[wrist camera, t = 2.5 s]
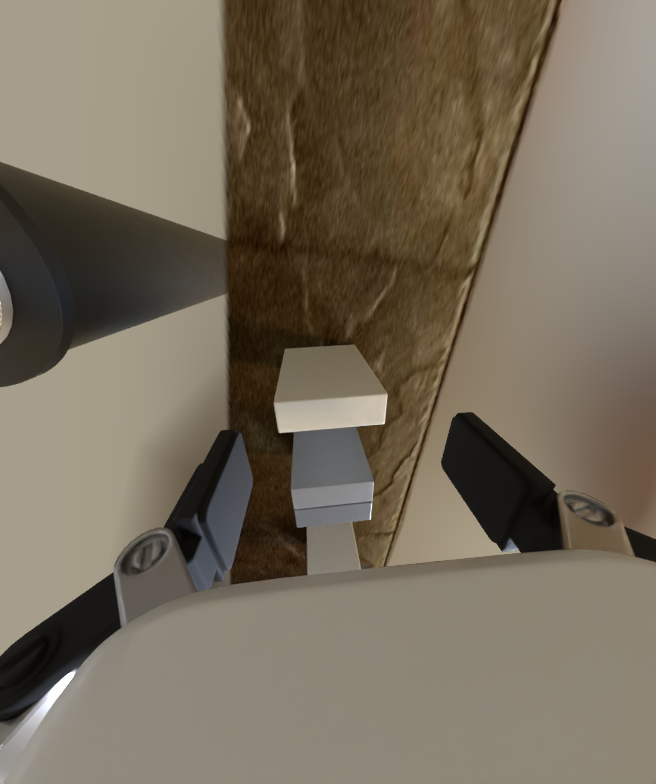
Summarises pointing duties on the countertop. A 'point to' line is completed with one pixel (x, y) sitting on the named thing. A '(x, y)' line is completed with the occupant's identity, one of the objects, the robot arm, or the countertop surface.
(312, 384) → the white book
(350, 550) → the white books
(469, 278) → the countertop surface
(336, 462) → the grey books
